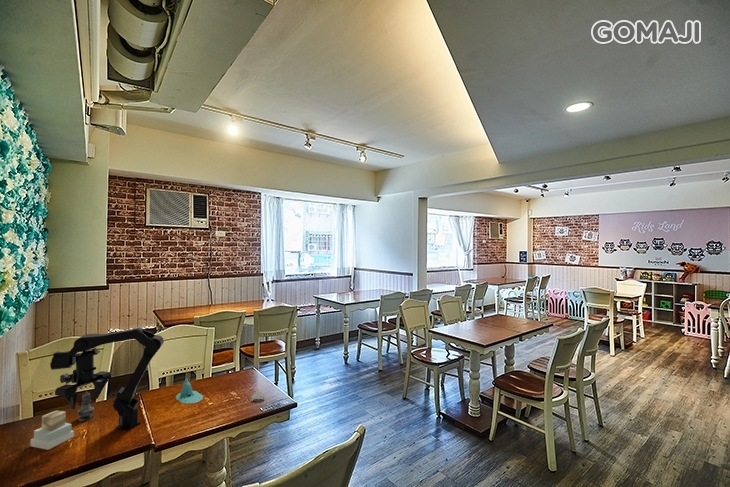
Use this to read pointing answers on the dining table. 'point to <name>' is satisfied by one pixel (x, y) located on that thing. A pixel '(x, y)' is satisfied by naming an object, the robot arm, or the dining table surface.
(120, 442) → the dining table surface
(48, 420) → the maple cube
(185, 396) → the teal witch hat
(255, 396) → the car cutout
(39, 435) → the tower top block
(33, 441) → the tower base block
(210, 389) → the dining table surface
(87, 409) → the grey stone pagoda
